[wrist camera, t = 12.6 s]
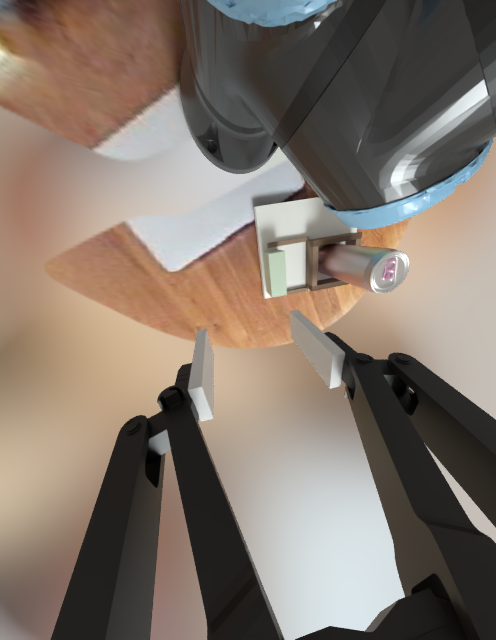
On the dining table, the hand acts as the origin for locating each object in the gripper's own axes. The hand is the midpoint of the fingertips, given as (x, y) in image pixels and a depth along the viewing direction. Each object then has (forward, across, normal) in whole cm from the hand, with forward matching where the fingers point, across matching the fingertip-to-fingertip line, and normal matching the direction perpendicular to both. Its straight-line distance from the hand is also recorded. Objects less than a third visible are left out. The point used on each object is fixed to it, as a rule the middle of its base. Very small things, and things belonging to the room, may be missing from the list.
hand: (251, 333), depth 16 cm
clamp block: (+22, +9, 0) cm, 23 cm away
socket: (+22, +20, 0) cm, 30 cm away
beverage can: (+22, +20, 0) cm, 30 cm away
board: (+23, +16, +3) cm, 29 cm away
